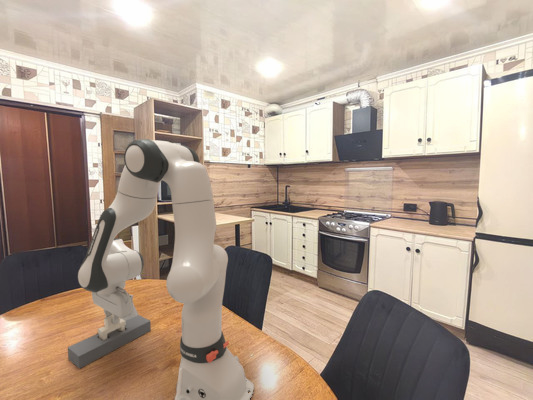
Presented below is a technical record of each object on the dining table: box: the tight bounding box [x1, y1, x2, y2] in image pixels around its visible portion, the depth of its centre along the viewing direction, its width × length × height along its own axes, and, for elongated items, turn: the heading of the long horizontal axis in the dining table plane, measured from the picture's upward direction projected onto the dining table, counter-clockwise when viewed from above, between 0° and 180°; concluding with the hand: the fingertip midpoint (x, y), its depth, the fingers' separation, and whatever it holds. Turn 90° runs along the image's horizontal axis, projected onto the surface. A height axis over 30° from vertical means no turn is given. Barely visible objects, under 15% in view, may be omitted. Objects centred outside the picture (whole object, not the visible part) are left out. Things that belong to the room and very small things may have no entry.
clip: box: [97, 315, 126, 341], centre depth 90 cm, size 3×8×10 cm, turn 148°
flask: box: [120, 294, 140, 321], centre depth 106 cm, size 7×7×10 cm
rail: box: [67, 314, 152, 369], centre depth 90 cm, size 8×24×4 cm, turn 148°
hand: (112, 321), depth 90 cm, fingers closed on clip, 2 cm apart
